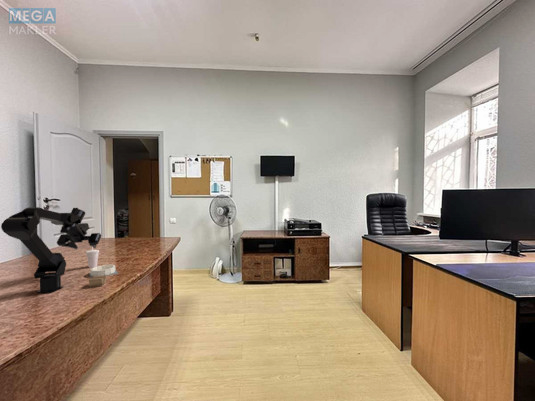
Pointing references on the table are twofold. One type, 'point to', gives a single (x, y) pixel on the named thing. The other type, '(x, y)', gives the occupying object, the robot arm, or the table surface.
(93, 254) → the smoothie
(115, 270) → the mat
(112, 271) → the white bowl
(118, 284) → the table surface
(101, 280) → the walnut block
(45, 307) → the table surface
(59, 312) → the table surface
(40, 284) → the robot arm
